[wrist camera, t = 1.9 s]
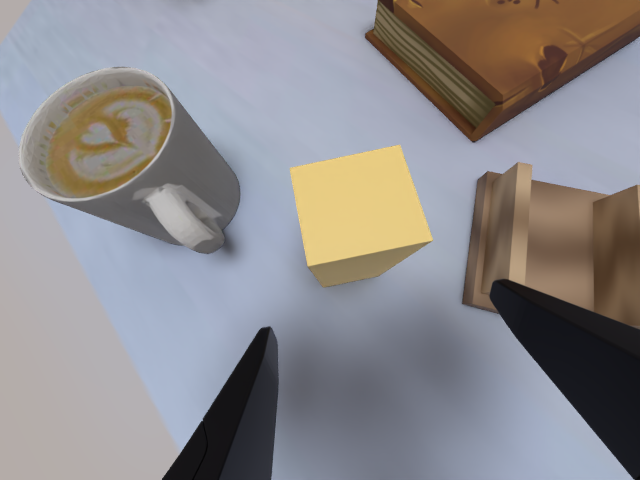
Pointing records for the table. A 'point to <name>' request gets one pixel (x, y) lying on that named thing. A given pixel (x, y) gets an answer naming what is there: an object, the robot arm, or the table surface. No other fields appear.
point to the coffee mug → (130, 159)
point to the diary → (498, 50)
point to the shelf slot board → (556, 243)
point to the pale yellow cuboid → (358, 215)
